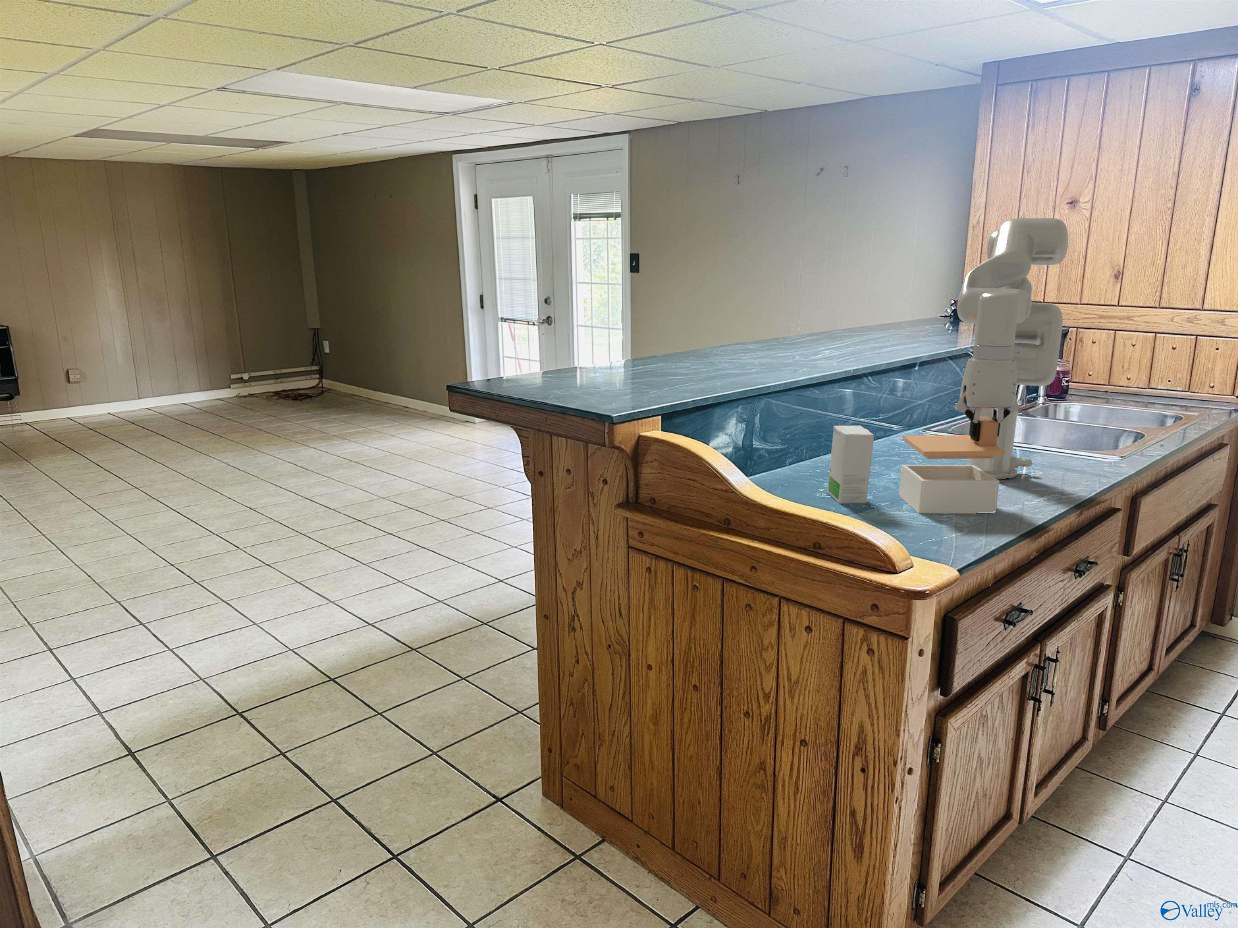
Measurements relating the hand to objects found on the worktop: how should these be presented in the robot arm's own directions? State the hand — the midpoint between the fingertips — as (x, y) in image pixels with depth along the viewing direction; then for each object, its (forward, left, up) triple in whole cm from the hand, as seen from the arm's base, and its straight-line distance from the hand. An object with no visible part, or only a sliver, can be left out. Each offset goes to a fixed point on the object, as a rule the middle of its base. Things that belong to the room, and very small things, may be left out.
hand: (983, 439), depth 181 cm
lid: (+7, 0, -2) cm, 7 cm away
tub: (+7, 0, -14) cm, 16 cm away
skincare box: (+27, -4, -14) cm, 31 cm away
